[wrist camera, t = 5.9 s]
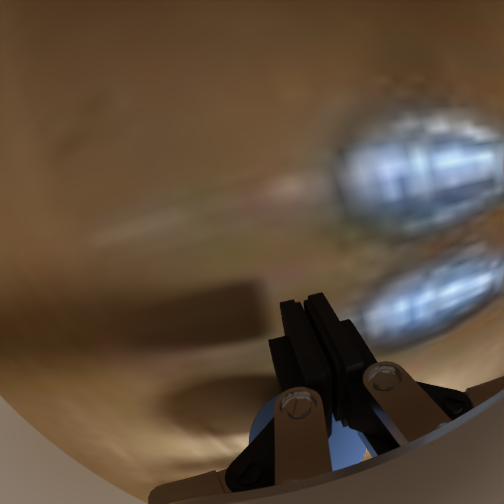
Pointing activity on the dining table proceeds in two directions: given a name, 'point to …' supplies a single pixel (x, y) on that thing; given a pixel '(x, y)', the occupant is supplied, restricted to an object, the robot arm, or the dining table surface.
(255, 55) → the dining table surface
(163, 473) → the dining table surface
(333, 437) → the ball
